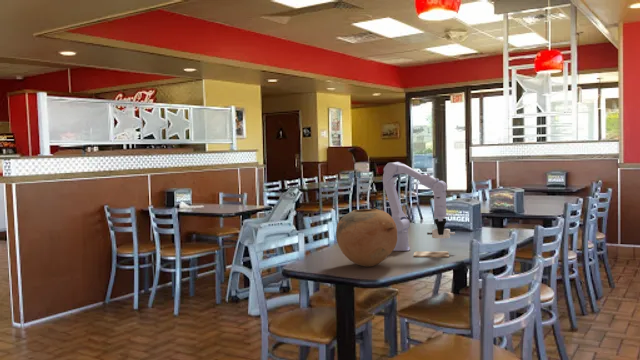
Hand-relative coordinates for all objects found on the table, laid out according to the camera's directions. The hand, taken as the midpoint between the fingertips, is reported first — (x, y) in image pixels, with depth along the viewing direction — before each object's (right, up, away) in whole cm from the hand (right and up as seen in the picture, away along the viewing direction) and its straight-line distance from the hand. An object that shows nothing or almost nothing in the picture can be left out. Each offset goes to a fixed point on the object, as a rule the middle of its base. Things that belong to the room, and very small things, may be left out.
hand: (440, 234), depth 270 cm
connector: (0, -2, 0) cm, 2 cm away
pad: (-6, -9, -6) cm, 12 cm away
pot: (-37, -12, -24) cm, 46 cm away
